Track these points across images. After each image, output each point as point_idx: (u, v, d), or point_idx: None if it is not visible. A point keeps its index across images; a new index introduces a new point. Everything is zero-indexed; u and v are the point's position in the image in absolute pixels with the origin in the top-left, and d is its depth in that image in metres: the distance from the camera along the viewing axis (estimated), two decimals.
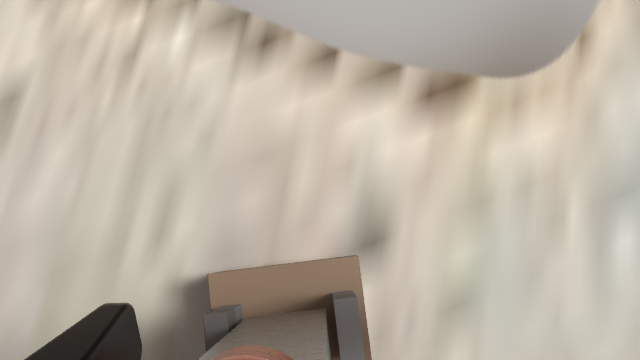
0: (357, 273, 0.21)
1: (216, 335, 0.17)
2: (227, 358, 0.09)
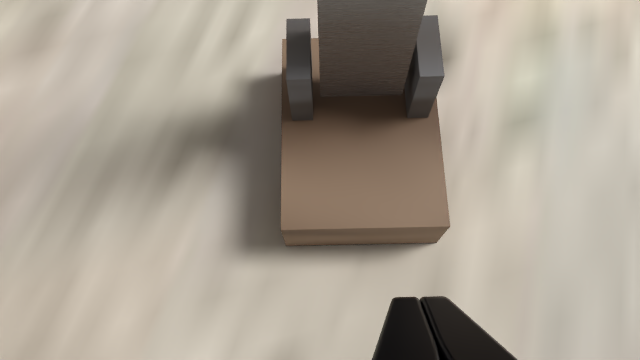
0: None
1: (297, 35, 0.18)
2: None
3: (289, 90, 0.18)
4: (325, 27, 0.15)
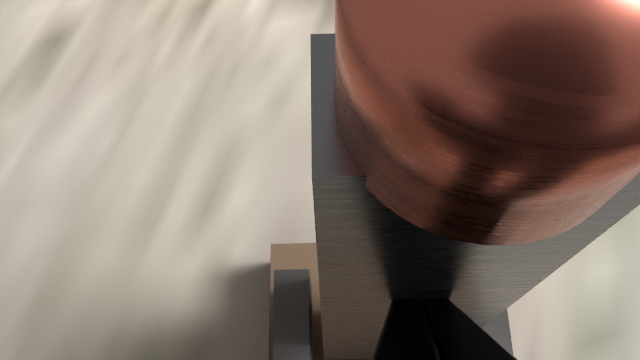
0: None
1: (290, 299, 0.12)
2: None
3: None
4: (333, 325, 0.09)
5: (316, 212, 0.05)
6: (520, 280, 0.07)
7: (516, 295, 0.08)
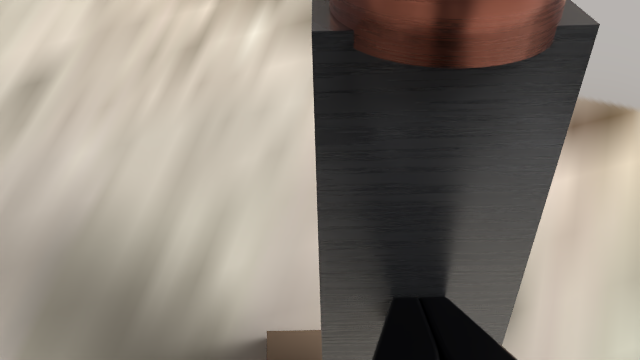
0: None
1: None
2: None
3: None
4: None
5: (315, 95, 0.06)
6: (511, 245, 0.07)
7: (513, 282, 0.08)
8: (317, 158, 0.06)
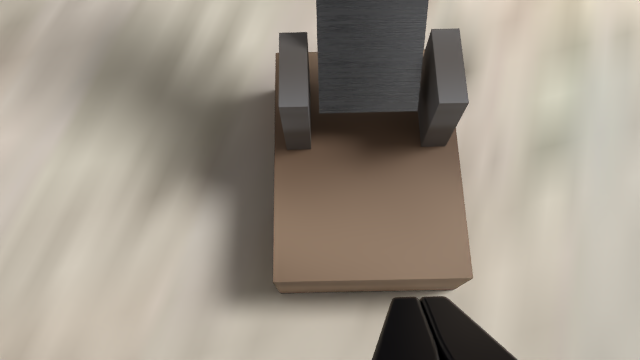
0: None
1: (292, 52, 0.15)
2: None
3: (282, 118, 0.15)
4: None
5: None
6: None
7: None
8: None
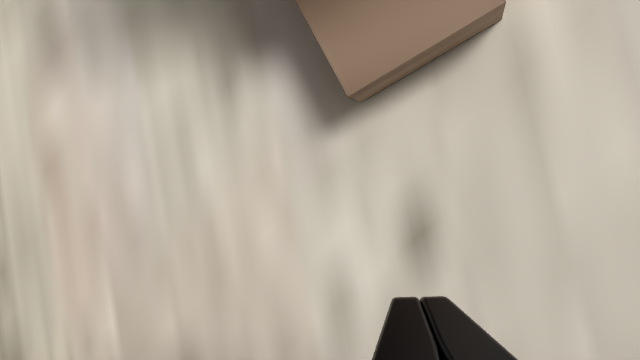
0: None
1: None
2: None
3: None
4: None
5: None
6: None
7: None
8: None
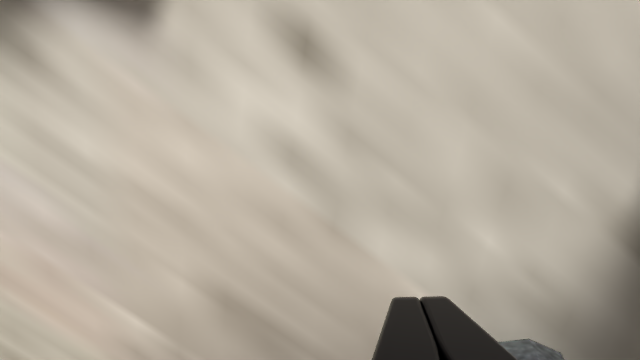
0: None
1: None
2: None
3: None
4: None
5: None
6: None
7: None
8: None
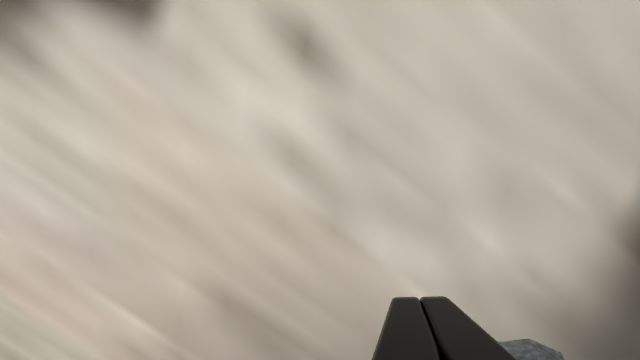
0: None
1: None
2: None
3: None
4: None
5: None
6: None
7: None
8: None
